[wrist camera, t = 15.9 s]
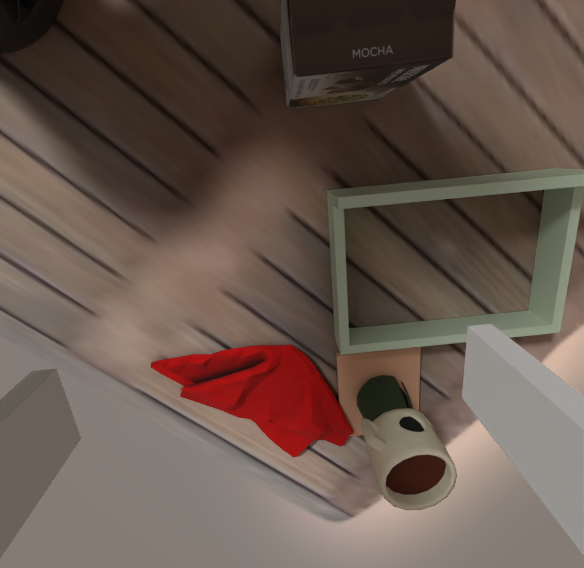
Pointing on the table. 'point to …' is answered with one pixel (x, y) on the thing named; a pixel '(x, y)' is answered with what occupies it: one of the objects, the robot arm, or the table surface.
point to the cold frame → (536, 320)
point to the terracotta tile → (372, 364)
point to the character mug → (403, 447)
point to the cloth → (264, 392)
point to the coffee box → (360, 47)
